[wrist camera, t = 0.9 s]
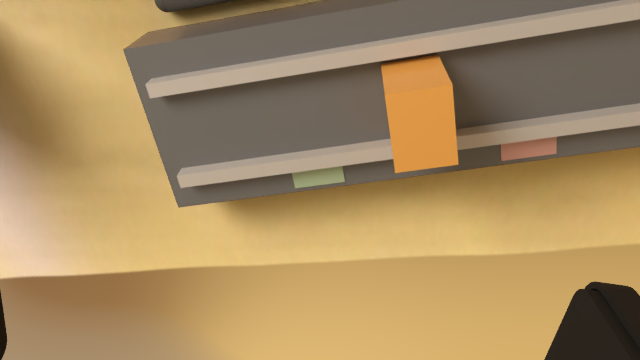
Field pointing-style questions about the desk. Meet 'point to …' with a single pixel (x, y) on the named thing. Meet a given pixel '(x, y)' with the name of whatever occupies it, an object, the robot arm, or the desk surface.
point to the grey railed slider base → (382, 89)
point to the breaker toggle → (420, 113)
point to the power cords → (184, 4)
